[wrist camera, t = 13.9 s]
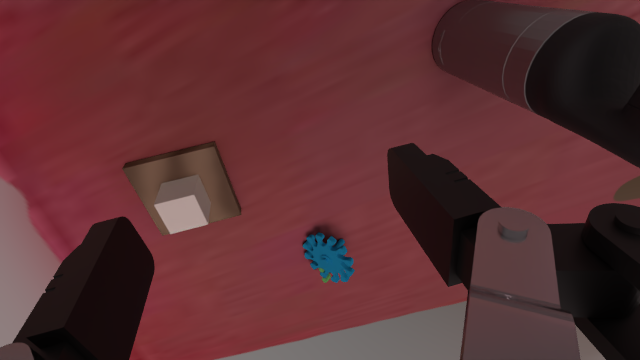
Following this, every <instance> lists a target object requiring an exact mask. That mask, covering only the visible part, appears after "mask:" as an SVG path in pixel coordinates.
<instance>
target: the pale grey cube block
mask: <svg viewBox="0 0 640 360" xmlns="http://www.w3.org/2000/svg"><path fill="white" fill-rule="evenodd" d="M210 205H211V202H210V200H209V197H208V195H207V193H206V191H205V188H204V186H203V184H202V182H201V179H200V177H199V175H194V176H190V177H186V178H182V179H178V180H174V181H169V182H165V183H162V184H161V187H160V189H159V192H158V195H157V197H156V200H155V203H154V206H155V208H156V210H157V211H158V213H159V215H160V217H161V218H162V220H163V222H164V224H165V225H166V227H167V229H168V231H169V232H170V234H173V233H177V232H181V231H184V230H188V229H192V228H196V227H200V226H204V225H208V221H209V213H210Z"/></svg>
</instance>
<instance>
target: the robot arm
mask: <svg viewBox="0 0 640 360" xmlns="http://www.w3.org/2000/svg"><path fill="white" fill-rule="evenodd" d="M432 51H433V56H434V60H435V61H436V63H437V65H438V66H439V67H440V68H441V69H442V70H444V71H446V72H448V73H450V74H452V75H454V76H456V77H458V78H460V79H462V80H465V81H467V82H469V83H471V84H473V85H475V86H477V87H480V88H482V89H484V90H486V91H488V92H490V93H492V94H495V95H497V96H499V97H501V98H503V99H505V100H507V101H510V102H512V103H514V104H516V105H518V106H521V107H523V108H525V109H527V110H529V111H531V112H533V113H536V114H538V115H540V116H542V117H544V118H546V119H549V120H551V121H552V122H554V123H556V124H558V125H560V126H562V127H564V128H566V129H568V130H570V131H572V132H574V133H576V134H578V135H580V136H582V137H584V138H586V139H588V140H590V141H592V142H594V143H595V144H597V145H599V146H601V147H603V148H604V149H606V150H608V151H610V152H612V153H613V154H615V155H617V156H619V157H621V158H622V159H624V160H626V161H628V162H629V163H631V164H633V165H635V166H637V167H639V168H640V24H639V23H638V22H636V21H635V20H633V19H631V18H629V17H626V16H622V15H617V14H609V13H598V12H588V11H579V10H569V9H558V8H548V7H538V6H529V5H519V4H509V3H500V2H492V1H482V0H467V1H463V2H461V3H459V4H457V5H455V6H454V7H453V8H451V9H450V10H449V11H448V12H447V13H446V14H445V15H444V16H443V18H442V19H441V21H440V22H439V24H438V26H437V28H436V30H435V33H434V37H433V43H432ZM387 157H388V174H389V190H390V196H391V199H392V202H393V204H394V206H395V208H396V210H397V211H398V213H399V214H400V216H401V217H402V219H403V220H404V222H405V223H406V225H407V226H408V228H409V229H410V231H411V232H412V234H413V235H414V237H415V238H416V240H417V241H418V243H419V244H420V246H421V247H422V249H423V250H424V252H425V253H426V255H427V256H428V257H429V259H430V260H431V262H432V263H433V265H434V266H435V268H436V269H437V271H438V272H439V274H440V275H441V277H442V278H443V280H444V281H445V283H446V284H447V286H448V287H450V286H453V285H456V284H460V283H463V284H464V286H465V287H466V288H467V290H468V296H467V305H466V313H465V322H464V329H463V338H462V347H461V354H460V360H581V359H580V353H579V346H578V340H577V333H576V327H575V325H576V326H577V327H578V328H579V329H580V330H581V331H582V333H583V334H584V335H585V336H586V337H587V338H588V340H589V341H590V342H591V343H592V344H593V345H594V346H595V347H596V349H597V350H598V351H599V352H600V353H601V354H602V355H603V357H604V358H605V359H606V360H640V207H637V206H633V205H628V204H617V203H611V204H603V205H599V206H596V207H595V208H593V209H592V210H591V211H590V213H589V215H588V218H587V220H586V223H575V224H546V223H545V222H544V221H543V220H542V219H541V218H539V217H537V216H536V215H534V214H532V213H530V212H527V211H525V210H521V209H517V208H509V207H501V206H499V205H498V204H497V203H496V202H495V201H494V200H493V199H492V198H490V197H489V196H488V195H487V194H486V193H485V192H484V191H482V190H481V189H480V188H479V187H478V186H477V185H476V184H475V183H473V182H472V181H471V180H470V179H469V180H468V178H467V176H466V175H464V174H463V173H462V172H461V171H460V172H459V169H458V168H456V167H455V166H454V165H453V164H452V163H451V162H450V161H449V160H447V159H444V158H442V157H439V156H437V155H434V154H430V155H426V154H425V153H424V152H423V151H421V150H420V149H419V148H418V147H417V146H416V145H415V144H414V143H410V144H406V145H402V146H398V147H394V148H390V149H389V150H388V154H387ZM153 275H154V260H153V257H152V254H151V252H150V251H149V249H148V248H147V246H146V245H145V243H144V242H143V240H142V238H141V237H140V235H139V234H138V232H137V231H136V229H135V228H134V226H133V225H132V223H131V222H130V221H129V220H128V219H127V218H126V217H118V218H114V219H110V220H106V221H103V222H99V223H95V224H94V225H92V227H91V228H90V230H89V232H88V233H87V235H86V237H85V239H84V240H83V242H82V244H81V245H79V246H78V247H77V248H76V249H75V250H74V251H73V252H72V253H71V254H70V255H69V256H68V257H67V258H66V259H64V260H63V262H62V263H61V265H60V267H59V268H58V270H57V272H56V273H55V275H54V276H53V277H54V279H53V280H51V281H50V283H49V285H48V286H47V288H46V289H45V291H46V293H43V294H42V296H41V298H40V299H39V301H38V302H37V304H36V306H35V307H34V309H33V311H32V312H31V314H30V315H29V317H28V319H27V320H26V322H25V323H24V325H23V327H22V328H21V330H20V331H19V333H18V335H17V336H16V338H15V339H14V341H13V343H12V344H8V345H5V346H3V347H1V348H0V360H129V358H130V355H131V351H132V348H133V344H134V341H135V337H136V334H137V330H138V327H139V323H140V320H141V316H142V313H143V309H144V306H145V302H146V299H147V295H148V292H149V288H150V285H151V282H152V278H153Z"/></svg>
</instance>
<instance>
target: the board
mask: <svg viewBox="0 0 640 360" xmlns="http://www.w3.org/2000/svg"><path fill="white" fill-rule="evenodd" d="M122 169H123V171H124V173H125V174H126V176H127V178H128V179H129V181H130V182H131V184H132V186H133V187H134V189H135V191H136V192H137V194H138V196H139V197H140V199H141V201H142V202H143V204H144V206H145V207H146V209H147V211H148V212H149V214H150V216H151V217H152V219H153V221H154V222H155V224H156V226H157V227H158V229H159V231H160V232H161V234H162V236H163V235H166V234H170V232H169V231H168V229H167V227H166V225H165V224H164V222H163V220H162V218H161V217H160V215H159V213H158V211H157V210H156V208H155V206H154V203H155V200H156V197H157V195H158V192H159V189H160V187H161V184H162V183H165V182H169V181H174V180H178V179H182V178H186V177H190V176H194V175H199V177H200V179H201V182H202V184H203V186H204V188H205V191H206V193H207V195H208V197H209V200H210V202H211V205H210V213H209V221H208V223H212V222H216V221H220V220H223V219H227V218H231V217H235V216H239V215H241V207H240V205H239V202H238V200H237V197H236V195H235V192H234V190H233V187H232V184H231V182H230V179H229V177H228V174H227V172H226V169H225V167H224V164H223V161H222V159H221V156H220V154H219V151H218V149H217V146H216V144H215V142H211V143H207V144H203V145H199V146H195V147H191V148H187V149H182V150H178V151H174V152H170V153H166V154H162V155H158V156H154V157H150V158H145V159H141V160H137V161H133V162H129V163H126V164H125V165H124V167H123V168H122Z"/></svg>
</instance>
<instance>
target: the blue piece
mask: <svg viewBox="0 0 640 360" xmlns="http://www.w3.org/2000/svg"><path fill="white" fill-rule="evenodd" d="M315 237H316V239H317V242H318V244H317V243H316V242H315ZM324 237H325V236H324V234H322V233H319V232H318V233H317V234H316V236H314V235H309V236H308V237H307V238H306V239H307V241H306V242H305V243H304V244H303V248H305V249H307V251H306V252H305V258H306V259H311V260H314V261H313V262H312V263H311V264H310V265H311V267H312V268H313V269H314V270H315V269H316V268H319V271H320V275H321V276H322V277H323V278H322V280H323V282H325V283H326V282H327V281H328V280H329V279H330V277H331V276H330V274H329V273H332V274H333V276H332V277H331V280H332V281H333V282H336V283H337V282H338V281H339V279H341V281H342V282H347V281H348V280H349V277H350V276H351V275H352V274H353V273H354V271H355V270H354V269H353V268H351V266H352V264H353V258H351V257H345V256H343V255H345V254H346V253H347V249H346V247H345V246H342V245H343V244H344V243H345V241H344V240H343V239H340V240H339V241H338V242H337V240H336V239H335V238H334V237H332V236H330V237H329V239H328V240H327V244H325V243H323V241H322V240H323V239H324ZM336 242H337V243H336ZM335 243H336V245H335V246H334V247H332V246H333V245H334V244H335ZM311 245H312V246H311ZM343 269H344V270H345V271H344V270H343ZM345 272H346V273H345ZM338 273H339V274H340V275H341V278H339V276H338Z"/></svg>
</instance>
